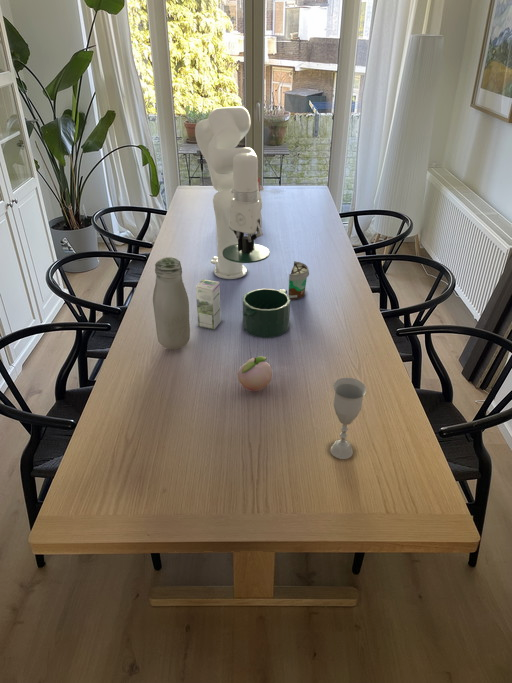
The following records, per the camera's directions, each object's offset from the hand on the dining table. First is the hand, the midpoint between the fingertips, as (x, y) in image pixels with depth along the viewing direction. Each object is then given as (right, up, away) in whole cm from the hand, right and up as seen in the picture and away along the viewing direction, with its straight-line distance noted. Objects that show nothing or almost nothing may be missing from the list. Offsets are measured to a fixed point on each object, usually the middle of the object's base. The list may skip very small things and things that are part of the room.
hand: (246, 250), depth 170 cm
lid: (0, -1, +1) cm, 1 cm away
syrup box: (-12, -25, -5) cm, 28 cm away
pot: (+6, -25, -6) cm, 26 cm away
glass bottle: (-21, -32, -16) cm, 41 cm away
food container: (+19, -14, +13) cm, 26 cm away
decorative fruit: (+3, -43, -34) cm, 55 cm away
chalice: (+23, -55, -53) cm, 80 cm away
